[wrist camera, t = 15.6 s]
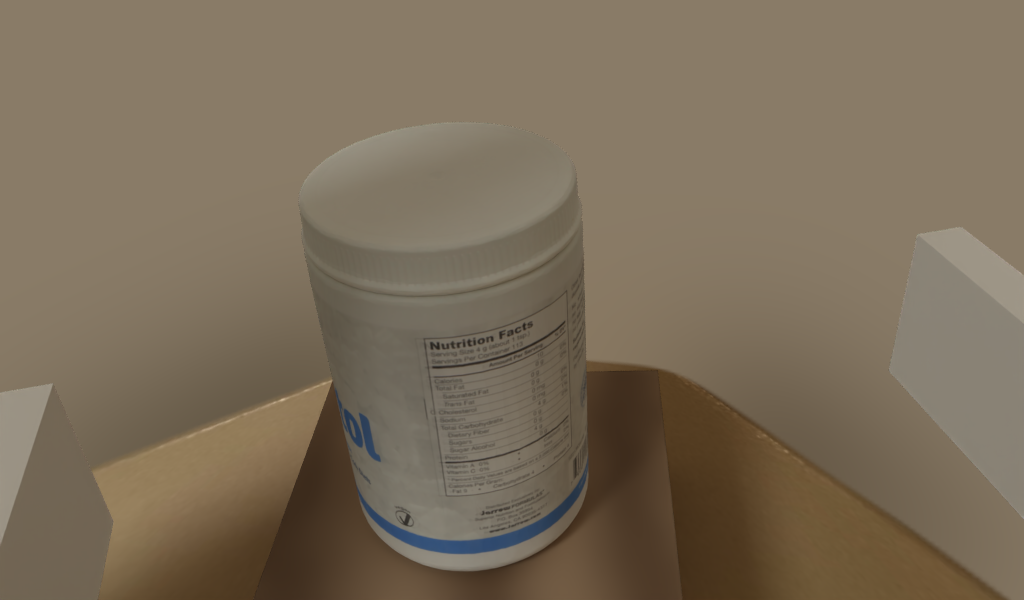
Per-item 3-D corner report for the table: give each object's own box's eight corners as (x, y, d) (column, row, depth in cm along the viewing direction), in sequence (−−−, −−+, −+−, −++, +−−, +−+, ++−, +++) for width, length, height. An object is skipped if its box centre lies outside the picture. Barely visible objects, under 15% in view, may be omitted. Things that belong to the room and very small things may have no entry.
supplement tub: (332, 467, 40) (255, 161, 32) (520, 391, 44) (493, 96, 36) (420, 626, 33) (350, 281, 25) (638, 519, 37) (638, 186, 29)
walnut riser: (269, 752, 36) (232, 656, 33) (354, 465, 49) (334, 376, 46) (684, 760, 34) (689, 660, 31) (656, 462, 48) (657, 370, 44)
